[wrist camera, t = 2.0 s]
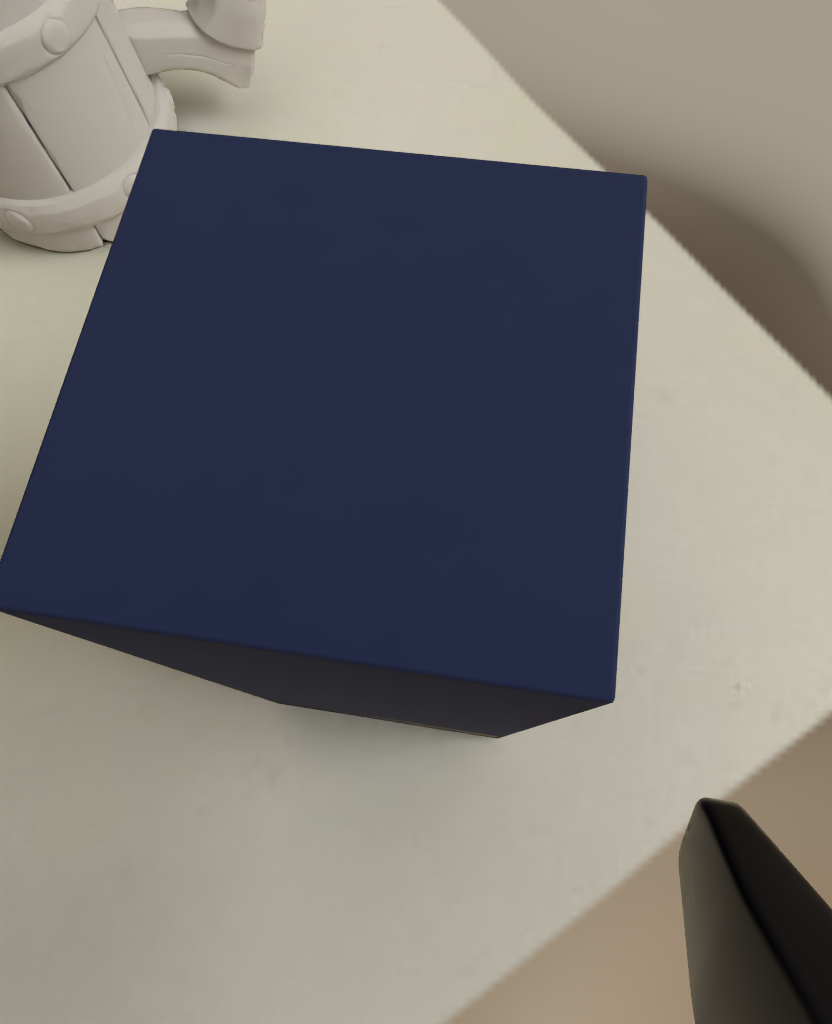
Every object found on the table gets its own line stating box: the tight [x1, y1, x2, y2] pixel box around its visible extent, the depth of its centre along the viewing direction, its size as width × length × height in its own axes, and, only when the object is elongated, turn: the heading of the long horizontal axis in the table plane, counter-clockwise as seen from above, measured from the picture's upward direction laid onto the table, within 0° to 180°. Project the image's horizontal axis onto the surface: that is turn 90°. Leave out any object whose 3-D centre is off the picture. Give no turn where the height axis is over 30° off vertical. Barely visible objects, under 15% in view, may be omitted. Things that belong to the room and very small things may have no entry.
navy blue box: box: [0, 129, 647, 738], centre depth 15 cm, size 13×6×13 cm, turn 171°
